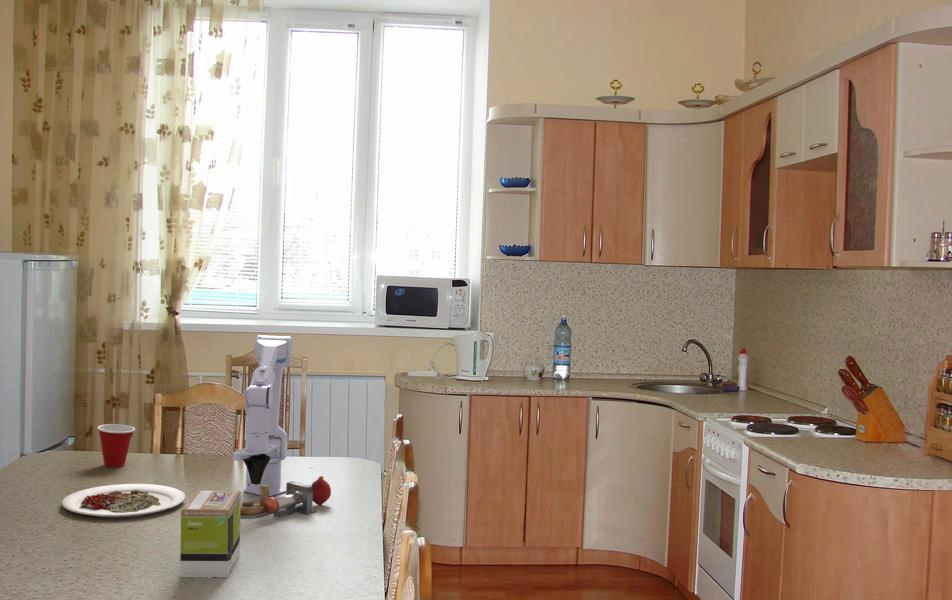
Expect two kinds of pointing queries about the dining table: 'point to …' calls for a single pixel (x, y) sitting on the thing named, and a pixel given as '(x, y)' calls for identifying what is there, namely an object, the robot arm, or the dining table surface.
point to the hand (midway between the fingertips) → (255, 483)
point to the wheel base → (253, 515)
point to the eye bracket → (299, 508)
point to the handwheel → (255, 502)
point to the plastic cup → (115, 443)
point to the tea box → (210, 534)
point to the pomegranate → (321, 491)
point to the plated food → (123, 500)
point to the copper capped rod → (282, 502)
